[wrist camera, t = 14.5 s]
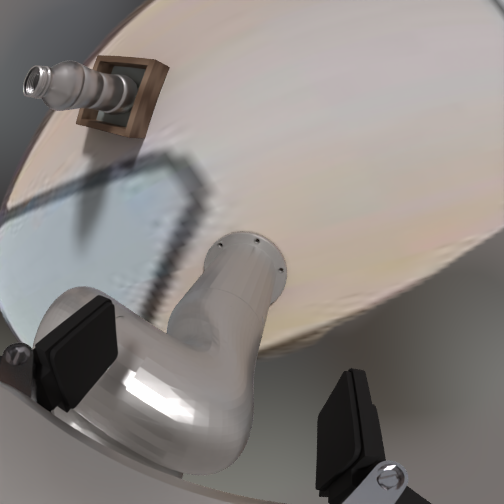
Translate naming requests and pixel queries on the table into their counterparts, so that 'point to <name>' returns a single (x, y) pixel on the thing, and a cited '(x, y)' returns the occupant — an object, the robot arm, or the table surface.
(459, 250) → the table surface
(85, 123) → the square wooden frame
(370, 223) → the table surface
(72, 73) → the silver rounded threaded piece
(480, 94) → the table surface
